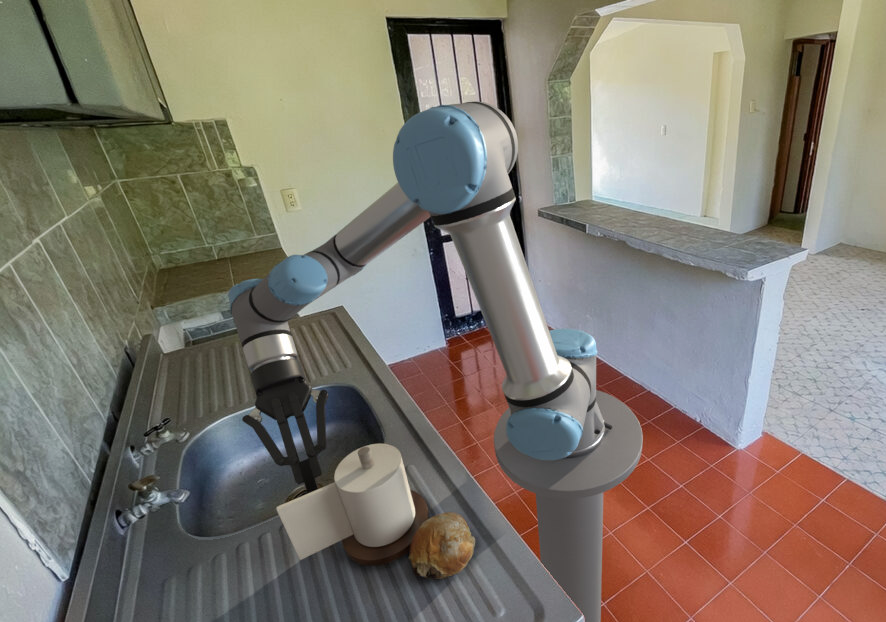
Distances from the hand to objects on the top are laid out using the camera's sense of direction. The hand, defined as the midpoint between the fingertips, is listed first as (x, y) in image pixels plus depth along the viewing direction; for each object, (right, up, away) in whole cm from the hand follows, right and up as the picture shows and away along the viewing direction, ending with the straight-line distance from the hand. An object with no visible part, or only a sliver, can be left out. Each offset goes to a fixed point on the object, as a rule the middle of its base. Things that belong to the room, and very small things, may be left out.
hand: (315, 499), depth 73 cm
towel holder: (+10, -7, +5) cm, 13 cm away
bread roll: (+21, -9, 0) cm, 22 cm away
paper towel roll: (+6, -6, +3) cm, 9 cm away
